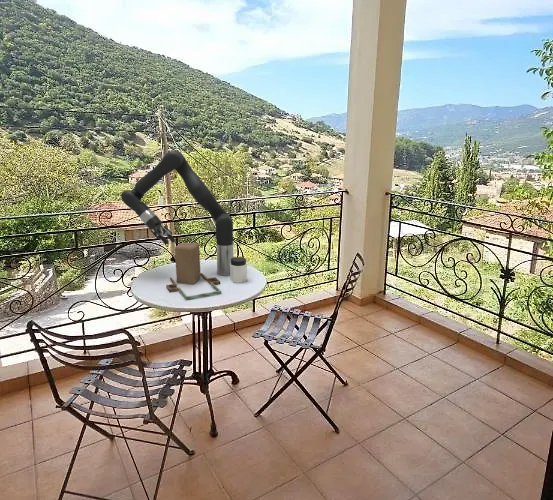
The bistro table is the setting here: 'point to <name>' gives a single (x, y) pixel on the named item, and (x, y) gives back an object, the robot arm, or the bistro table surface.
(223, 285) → the bistro table surface
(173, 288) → the notched outline frame
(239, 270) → the jar
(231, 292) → the bistro table surface
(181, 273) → the block
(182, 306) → the bistro table surface
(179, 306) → the bistro table surface
